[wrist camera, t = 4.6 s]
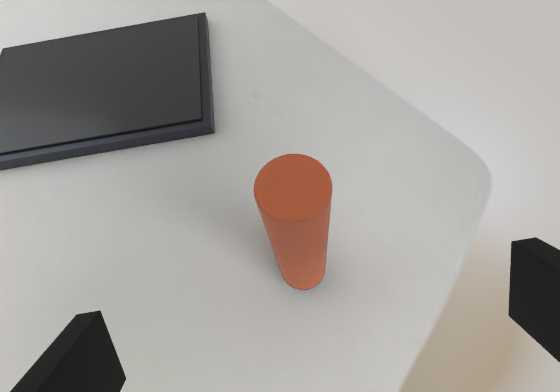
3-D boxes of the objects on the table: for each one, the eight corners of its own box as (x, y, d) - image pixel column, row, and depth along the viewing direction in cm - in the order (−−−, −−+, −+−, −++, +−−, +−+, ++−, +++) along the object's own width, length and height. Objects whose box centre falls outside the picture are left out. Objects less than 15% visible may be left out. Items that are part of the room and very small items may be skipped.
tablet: (208, 21, 33) (204, 10, 32) (214, 133, 26) (210, 123, 25) (10, 56, 33) (0, 46, 32) (-31, 175, 27) (-46, 167, 26)
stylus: (320, 248, 21) (323, 146, 12) (328, 289, 20) (340, 214, 10) (279, 255, 21) (249, 159, 12) (285, 296, 20) (257, 228, 10)
